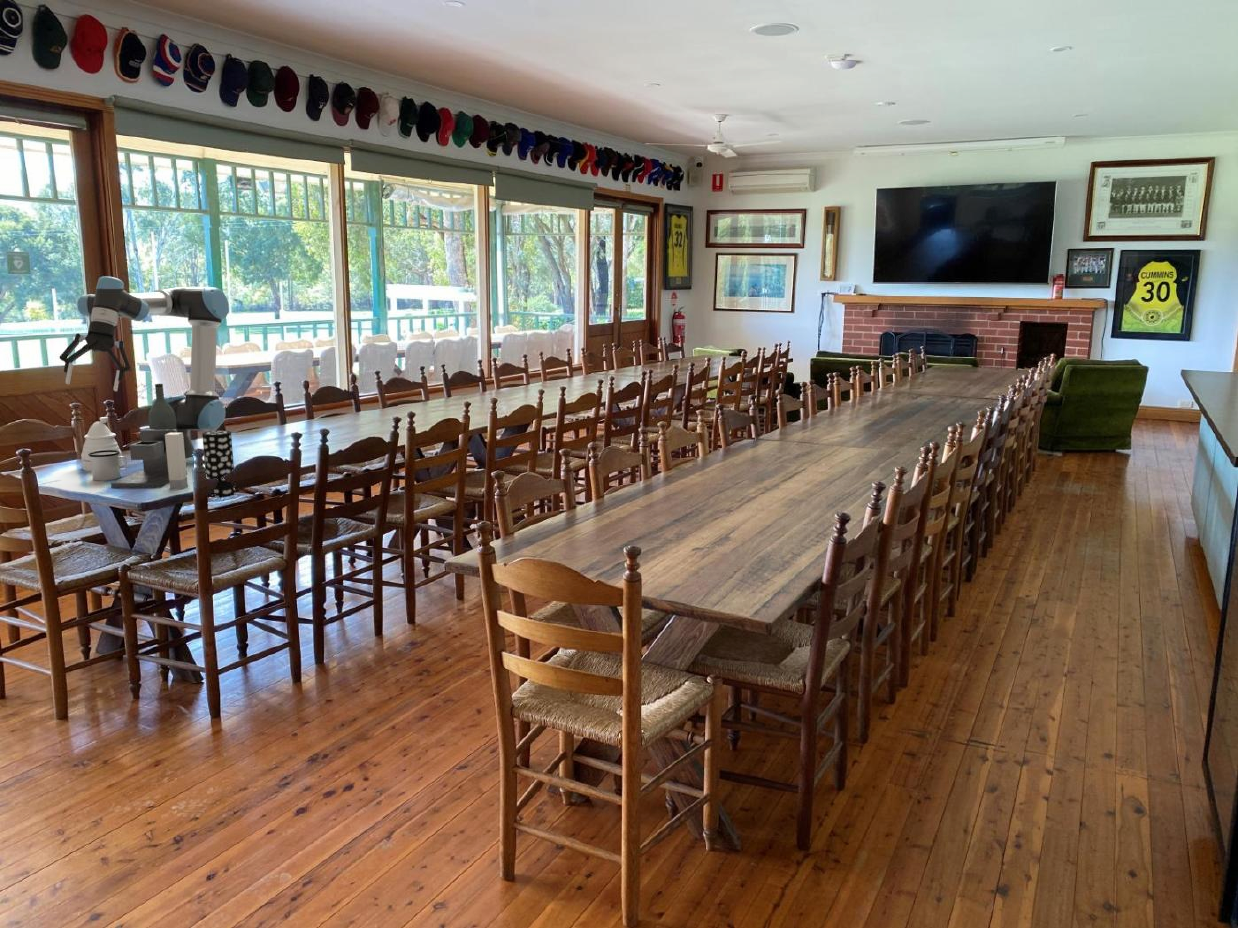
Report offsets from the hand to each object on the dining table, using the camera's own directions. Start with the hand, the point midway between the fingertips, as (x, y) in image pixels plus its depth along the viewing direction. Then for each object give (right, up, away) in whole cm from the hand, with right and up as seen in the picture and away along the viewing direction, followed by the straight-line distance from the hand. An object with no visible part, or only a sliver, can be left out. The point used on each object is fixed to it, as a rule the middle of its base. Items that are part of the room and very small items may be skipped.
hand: (91, 387), depth 295 cm
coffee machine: (+10, -30, +17) cm, 36 cm away
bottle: (+4, -26, +41) cm, 48 cm away
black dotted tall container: (+43, -35, -2) cm, 55 cm away
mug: (-6, -30, +21) cm, 37 cm away
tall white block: (+25, -32, +7) cm, 41 cm away
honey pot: (-18, -26, +39) cm, 50 cm away
